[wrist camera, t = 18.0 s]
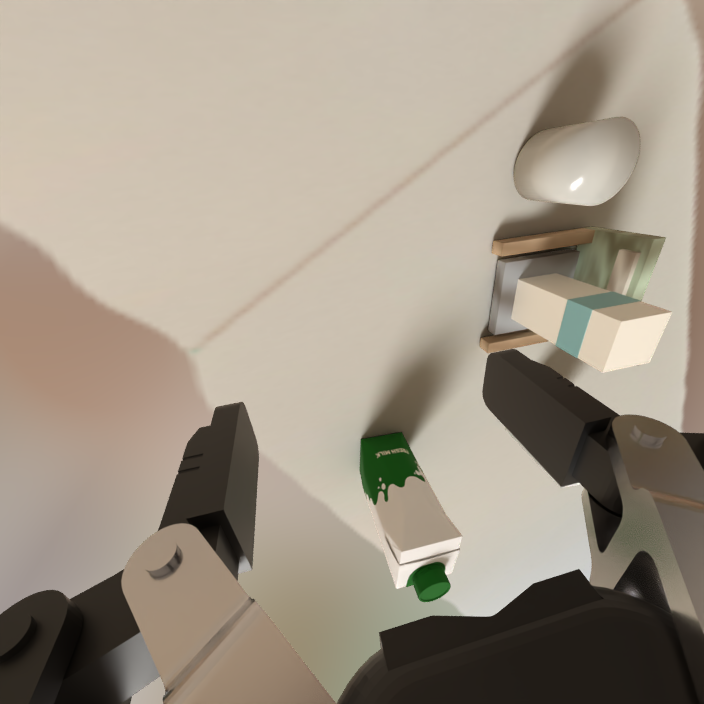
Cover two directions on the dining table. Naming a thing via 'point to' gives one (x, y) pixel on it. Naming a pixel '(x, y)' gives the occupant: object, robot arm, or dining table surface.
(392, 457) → the milk carton
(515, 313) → the oat carton
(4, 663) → the robot arm
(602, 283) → the display bay
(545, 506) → the dining table surface
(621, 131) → the white tapered tumbler
